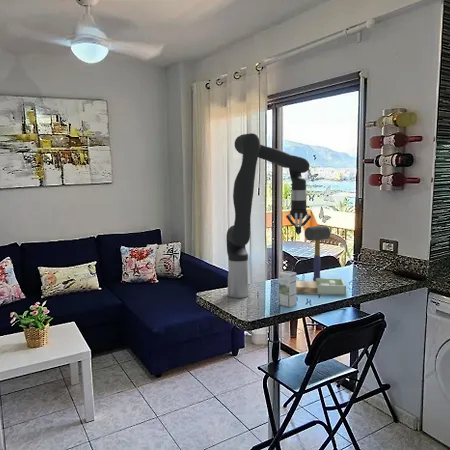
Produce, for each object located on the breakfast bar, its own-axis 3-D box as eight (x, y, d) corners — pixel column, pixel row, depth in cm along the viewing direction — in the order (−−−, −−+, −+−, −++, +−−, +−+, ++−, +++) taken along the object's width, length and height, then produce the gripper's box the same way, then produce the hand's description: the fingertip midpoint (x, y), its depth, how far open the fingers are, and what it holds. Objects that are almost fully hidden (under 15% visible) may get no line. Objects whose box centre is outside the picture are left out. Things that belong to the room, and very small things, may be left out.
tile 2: (330, 282, 204) (335, 282, 204) (329, 280, 208) (334, 280, 208) (329, 290, 204) (335, 290, 204) (328, 288, 208) (334, 288, 208)
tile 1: (320, 290, 205) (321, 285, 204) (320, 288, 209) (320, 283, 208) (329, 290, 204) (329, 285, 204) (328, 288, 208) (328, 283, 208)
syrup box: (296, 304, 185) (297, 272, 183) (289, 307, 181) (289, 274, 179) (285, 302, 189) (286, 270, 187) (278, 305, 184) (278, 272, 183)
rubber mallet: (311, 285, 215) (312, 227, 212) (302, 282, 222) (303, 226, 219) (330, 282, 221) (331, 225, 218) (321, 279, 228) (322, 224, 224)
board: (291, 293, 203) (291, 286, 203) (291, 286, 215) (291, 280, 214) (317, 293, 201) (317, 287, 201) (315, 287, 213) (316, 281, 213)
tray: (317, 294, 200) (317, 285, 200) (315, 286, 214) (315, 278, 213) (345, 295, 198) (346, 286, 198) (342, 287, 212) (342, 278, 211)
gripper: (285, 199, 207) (284, 234, 209) (312, 199, 205) (312, 235, 207) (285, 198, 215) (285, 232, 217) (311, 198, 213) (311, 233, 215)
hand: (298, 233), depth 212 cm, fingers closed
